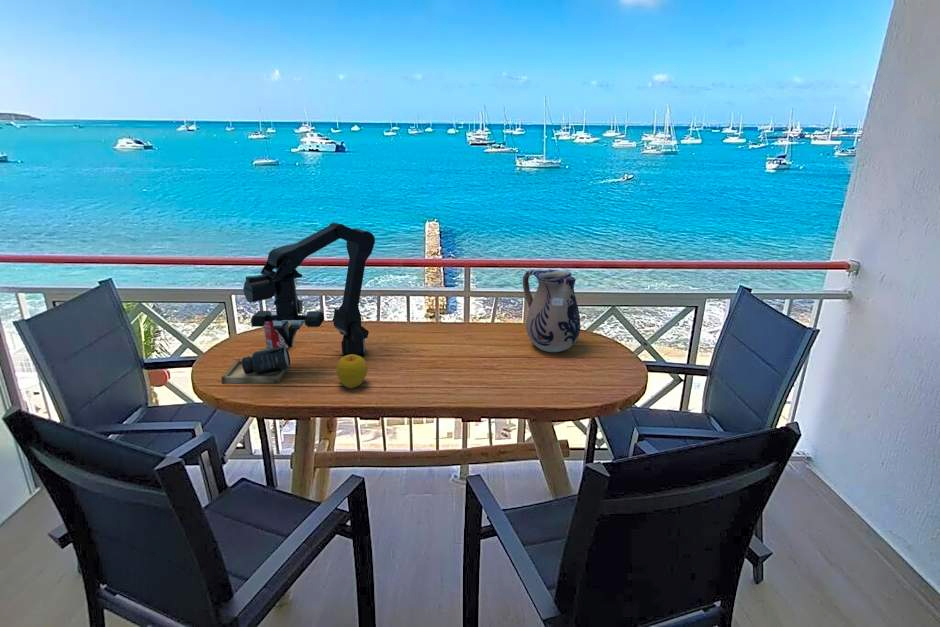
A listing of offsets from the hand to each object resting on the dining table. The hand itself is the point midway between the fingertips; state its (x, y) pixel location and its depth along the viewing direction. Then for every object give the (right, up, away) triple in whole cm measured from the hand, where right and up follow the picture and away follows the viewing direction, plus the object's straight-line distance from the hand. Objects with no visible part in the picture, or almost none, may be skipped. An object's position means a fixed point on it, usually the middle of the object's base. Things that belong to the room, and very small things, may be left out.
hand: (290, 346), depth 155 cm
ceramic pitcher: (+77, -2, +26) cm, 81 cm away
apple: (+18, -11, -3) cm, 22 cm away
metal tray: (-11, -8, +3) cm, 13 cm away
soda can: (-10, -2, +20) cm, 22 cm away
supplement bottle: (-1, -3, 0) cm, 3 cm away
